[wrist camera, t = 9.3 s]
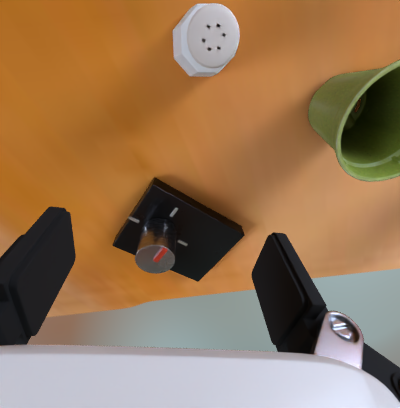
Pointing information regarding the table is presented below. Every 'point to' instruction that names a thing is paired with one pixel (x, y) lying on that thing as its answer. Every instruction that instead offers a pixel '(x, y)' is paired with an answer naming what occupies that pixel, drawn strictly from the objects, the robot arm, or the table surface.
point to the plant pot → (361, 121)
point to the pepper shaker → (205, 39)
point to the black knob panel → (182, 229)
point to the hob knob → (156, 246)
